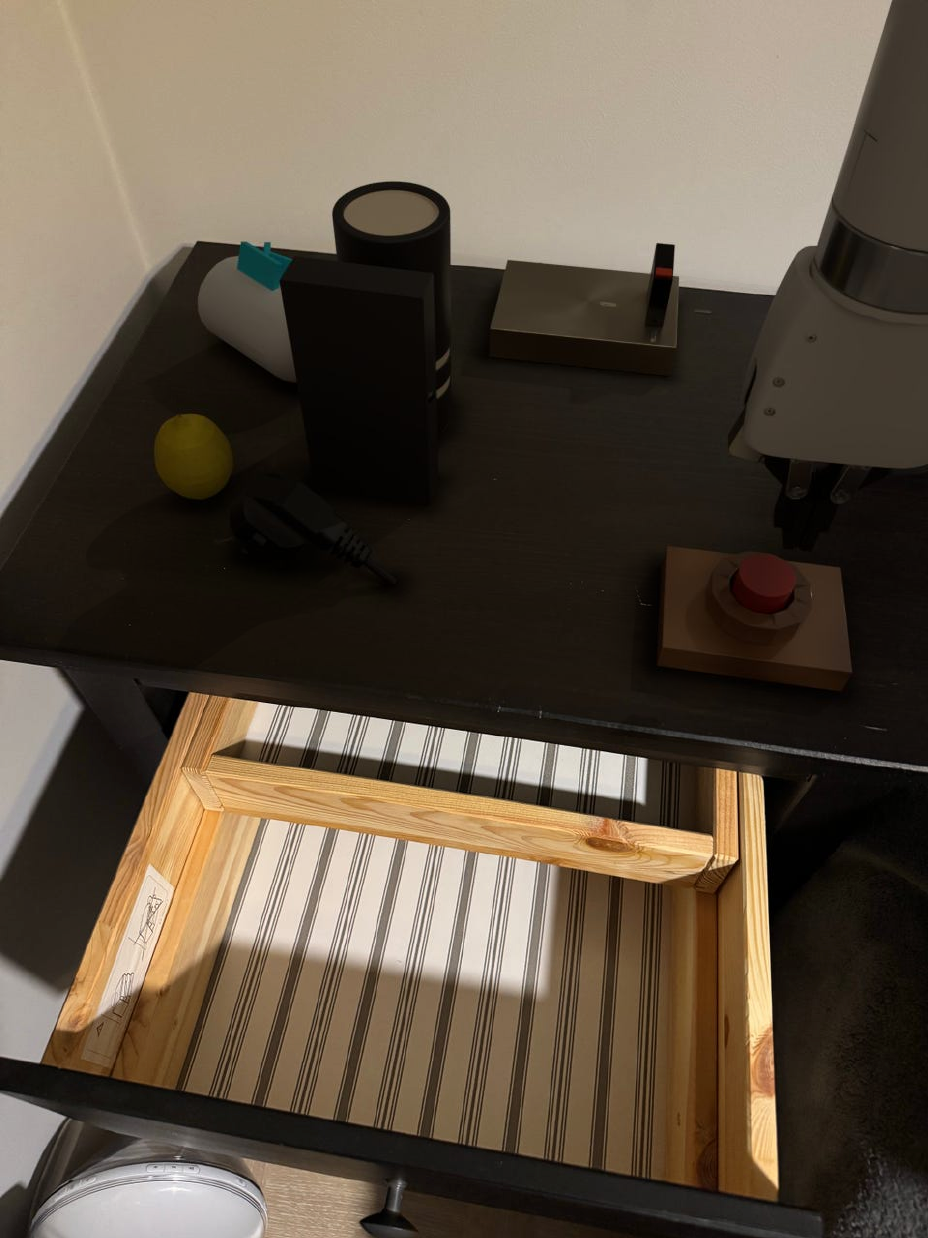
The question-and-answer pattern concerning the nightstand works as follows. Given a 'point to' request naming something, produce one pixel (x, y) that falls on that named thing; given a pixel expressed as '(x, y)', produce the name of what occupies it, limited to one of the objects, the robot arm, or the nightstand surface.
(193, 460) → the fruit
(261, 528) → the power plug
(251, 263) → the mug
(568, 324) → the panel
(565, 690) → the nightstand surface
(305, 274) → the light fixture
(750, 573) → the button
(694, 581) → the red push button box
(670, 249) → the black boxy piece
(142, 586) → the nightstand surface
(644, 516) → the nightstand surface
